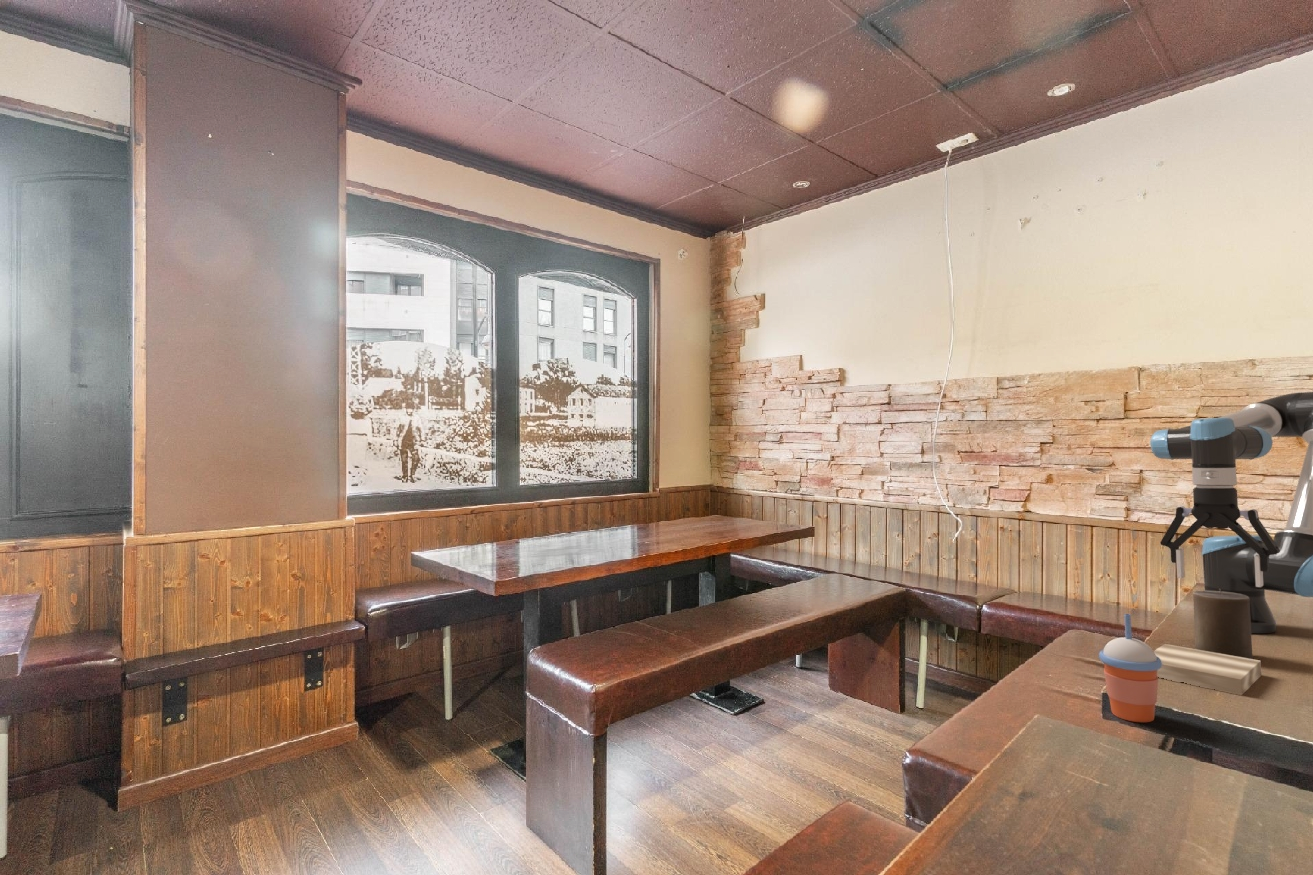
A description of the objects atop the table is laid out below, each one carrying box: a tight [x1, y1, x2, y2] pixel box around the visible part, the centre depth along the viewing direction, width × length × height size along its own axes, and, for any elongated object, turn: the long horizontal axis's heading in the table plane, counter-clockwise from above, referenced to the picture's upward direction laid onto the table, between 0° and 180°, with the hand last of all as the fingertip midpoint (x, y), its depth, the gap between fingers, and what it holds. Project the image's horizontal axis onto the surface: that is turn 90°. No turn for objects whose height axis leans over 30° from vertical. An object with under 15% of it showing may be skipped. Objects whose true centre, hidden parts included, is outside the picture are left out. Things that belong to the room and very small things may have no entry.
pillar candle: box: [1192, 589, 1254, 659], centre depth 146 cm, size 10×10×15 cm
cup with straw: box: [1098, 613, 1162, 723], centre depth 116 cm, size 9×9×18 cm
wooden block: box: [1153, 643, 1262, 696], centre depth 135 cm, size 16×16×3 cm
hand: (1218, 581), depth 146 cm, fingers open, 13 cm apart
